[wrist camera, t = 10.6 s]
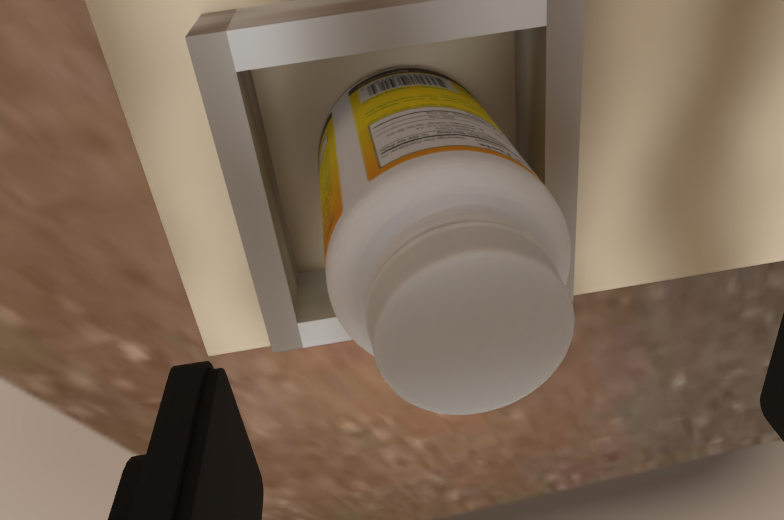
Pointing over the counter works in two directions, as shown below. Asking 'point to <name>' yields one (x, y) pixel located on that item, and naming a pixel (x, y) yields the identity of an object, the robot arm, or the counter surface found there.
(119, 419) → the counter surface
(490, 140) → the supplement bottle
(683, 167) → the socket base
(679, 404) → the counter surface
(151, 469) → the robot arm
